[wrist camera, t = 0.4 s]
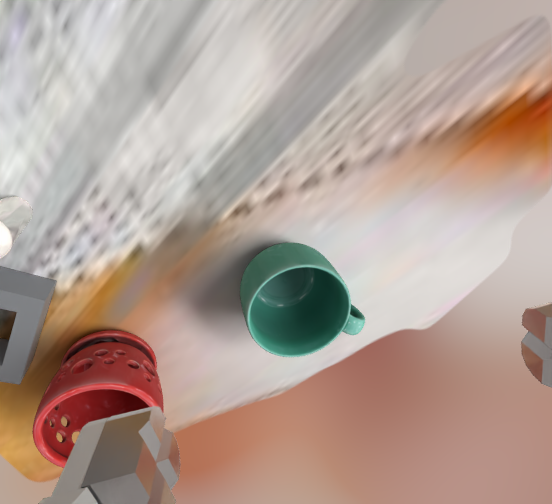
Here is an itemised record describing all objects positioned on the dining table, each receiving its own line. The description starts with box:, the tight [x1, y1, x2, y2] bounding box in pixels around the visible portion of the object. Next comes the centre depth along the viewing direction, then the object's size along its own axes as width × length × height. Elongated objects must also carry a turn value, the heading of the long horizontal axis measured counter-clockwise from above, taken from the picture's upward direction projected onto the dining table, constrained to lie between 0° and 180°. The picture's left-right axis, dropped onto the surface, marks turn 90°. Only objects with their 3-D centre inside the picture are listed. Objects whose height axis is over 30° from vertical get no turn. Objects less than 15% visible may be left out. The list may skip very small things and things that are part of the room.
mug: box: [240, 243, 365, 357], centre depth 49 cm, size 17×13×10 cm
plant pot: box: [33, 330, 163, 468], centre depth 46 cm, size 13×13×12 cm
